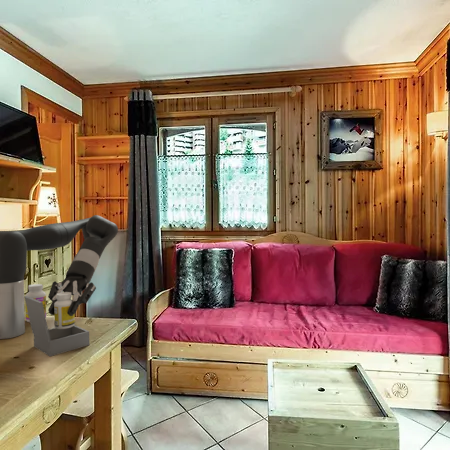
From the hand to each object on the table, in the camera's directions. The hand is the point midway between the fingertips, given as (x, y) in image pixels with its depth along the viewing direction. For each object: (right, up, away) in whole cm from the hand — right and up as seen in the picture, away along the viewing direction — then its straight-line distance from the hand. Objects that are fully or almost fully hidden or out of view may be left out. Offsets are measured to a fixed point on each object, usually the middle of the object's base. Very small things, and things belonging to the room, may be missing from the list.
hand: (60, 314), depth 101 cm
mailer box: (-1, -10, 0) cm, 10 cm away
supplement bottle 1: (-21, -9, +27) cm, 36 cm away
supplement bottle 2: (0, -4, +2) cm, 5 cm away
